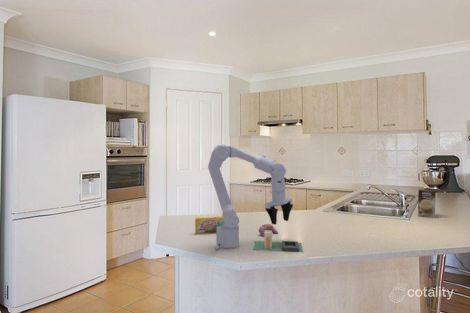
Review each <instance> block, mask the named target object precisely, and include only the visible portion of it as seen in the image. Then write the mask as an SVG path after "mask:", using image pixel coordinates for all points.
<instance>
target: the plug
mask: <svg viewBox="0 0 470 313" xmlns="http://www.w3.org/2000/svg"><path fill="white" fill-rule="evenodd" d="M263 238H264V240H263V241H264V248H266V249H272V242H273V233H272V230H265V232H264V237H263Z"/></svg>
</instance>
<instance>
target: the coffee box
mask: <svg viewBox="0 0 470 313" xmlns="http://www.w3.org/2000/svg"><path fill="white" fill-rule="evenodd" d="M417 198H418V200H417V217H421V218H423V217H424V218H429V219H430V218H431V219H435V218H436V190H434V189H433V190H431V189H418V194H417Z"/></svg>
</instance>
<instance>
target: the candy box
mask: <svg viewBox="0 0 470 313" xmlns="http://www.w3.org/2000/svg"><path fill="white" fill-rule="evenodd" d="M194 219H195V220H194V223H195V225H194V229H195V231H194V232H195V233H194V234H195V235H208V234H209V235H210V234H213V235H214V234H216V232H217V227H221V226H222V225H223V223H224V220H223V218H222V216H202V217H201V216H199V217H197V216H196V217H195V218H194Z"/></svg>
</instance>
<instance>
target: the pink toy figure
mask: <svg viewBox="0 0 470 313" xmlns="http://www.w3.org/2000/svg"><path fill="white" fill-rule="evenodd" d="M265 230H272V235H279V232H278V230H277V229H276V228H275V227H274V226H273V224H272V223H266V224H262V225H261V226H260V227H259V228H258V232H259V234H260V235H261V236H262V237H263V238H264V232H265Z"/></svg>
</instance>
